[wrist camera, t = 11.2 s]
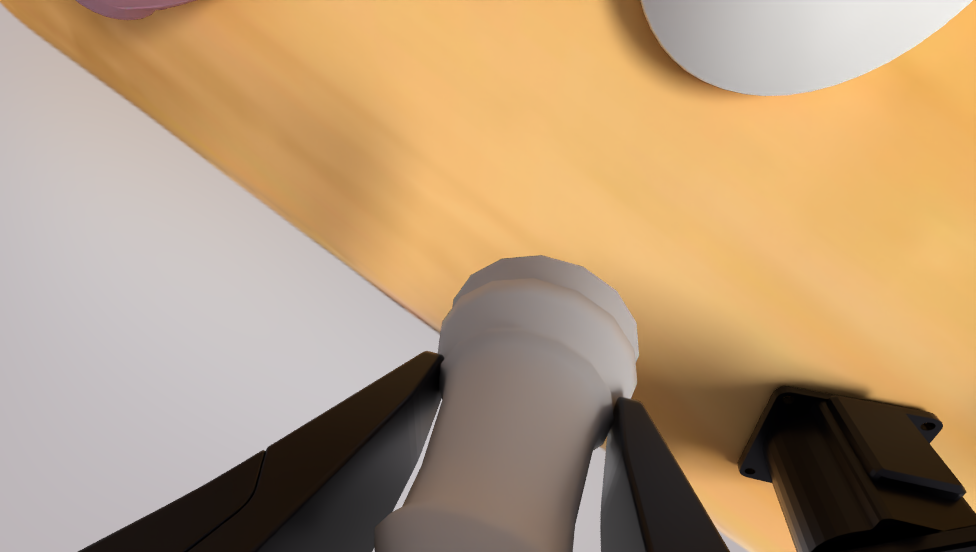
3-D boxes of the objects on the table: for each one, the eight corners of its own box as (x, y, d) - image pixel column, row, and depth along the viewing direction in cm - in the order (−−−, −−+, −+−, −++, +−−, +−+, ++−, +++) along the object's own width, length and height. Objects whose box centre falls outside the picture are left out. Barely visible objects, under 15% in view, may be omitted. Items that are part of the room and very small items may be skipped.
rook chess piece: (436, 349, 11) (156, 804, 4) (490, 212, 9) (43, 765, 2) (582, 421, 11) (523, 1020, 4) (680, 301, 8) (930, 1295, 2)
